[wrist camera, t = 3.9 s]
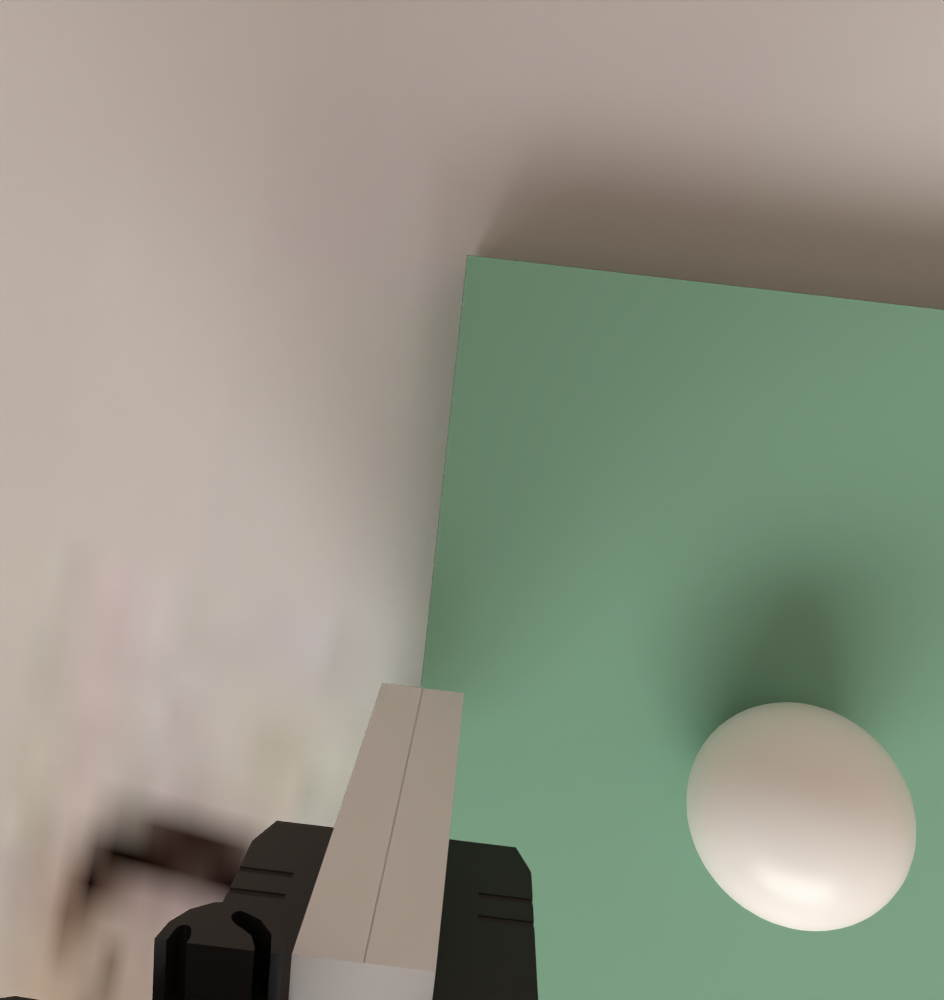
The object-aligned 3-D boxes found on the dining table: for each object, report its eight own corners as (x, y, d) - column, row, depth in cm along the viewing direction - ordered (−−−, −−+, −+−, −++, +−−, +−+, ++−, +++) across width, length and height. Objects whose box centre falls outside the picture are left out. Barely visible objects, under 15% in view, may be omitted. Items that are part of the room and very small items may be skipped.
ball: (653, 828, 17) (696, 970, 13) (684, 657, 16) (739, 757, 12) (837, 851, 17) (932, 999, 13) (877, 680, 16) (989, 788, 12)
